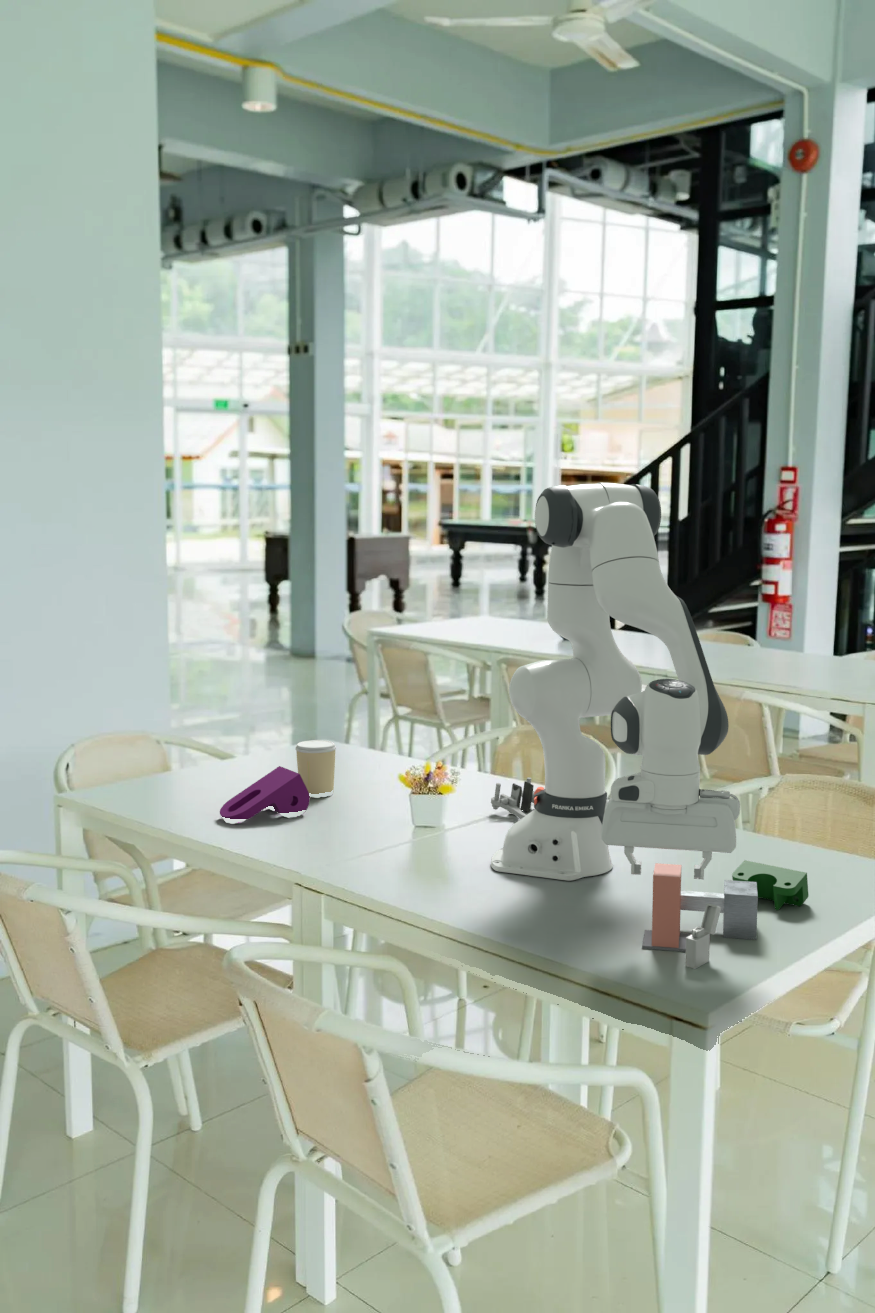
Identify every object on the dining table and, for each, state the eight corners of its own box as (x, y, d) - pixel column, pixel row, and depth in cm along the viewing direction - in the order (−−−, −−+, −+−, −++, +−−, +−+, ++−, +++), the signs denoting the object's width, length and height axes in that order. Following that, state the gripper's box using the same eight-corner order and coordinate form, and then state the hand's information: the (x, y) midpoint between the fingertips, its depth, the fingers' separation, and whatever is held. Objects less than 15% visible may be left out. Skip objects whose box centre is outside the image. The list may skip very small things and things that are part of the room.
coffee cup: (320, 787, 283) (319, 738, 282) (344, 794, 277) (344, 743, 275) (288, 794, 277) (287, 743, 276) (312, 801, 270) (311, 749, 269)
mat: (642, 948, 180) (642, 945, 180) (644, 932, 187) (644, 929, 187) (689, 952, 179) (689, 949, 179) (690, 935, 186) (690, 933, 185)
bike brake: (482, 810, 259) (547, 844, 244) (486, 781, 257) (552, 813, 242) (527, 801, 267) (592, 833, 253) (531, 773, 266) (597, 803, 251)
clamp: (744, 925, 203) (720, 878, 202) (759, 908, 207) (736, 862, 207) (804, 915, 194) (780, 866, 194) (819, 897, 198) (795, 849, 198)
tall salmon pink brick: (651, 945, 180) (653, 875, 179) (653, 931, 186) (655, 863, 185) (678, 948, 179) (680, 877, 178) (679, 933, 186) (681, 864, 184)
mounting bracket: (248, 853, 251) (315, 805, 259) (231, 820, 248) (299, 773, 256) (229, 842, 259) (294, 797, 267) (212, 811, 256) (279, 765, 264)
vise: (651, 931, 187) (652, 888, 187) (653, 916, 194) (654, 875, 193) (756, 939, 184) (757, 896, 183) (755, 924, 190) (756, 882, 190)
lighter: (695, 969, 172) (696, 916, 171) (684, 966, 174) (686, 913, 172) (719, 955, 178) (721, 903, 176) (709, 952, 179) (711, 901, 178)
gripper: (740, 786, 181) (737, 874, 183) (604, 779, 185) (603, 865, 187) (740, 796, 175) (737, 887, 176) (600, 789, 179) (599, 877, 181)
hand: (667, 876), depth 182 cm, fingers open, 8 cm apart
